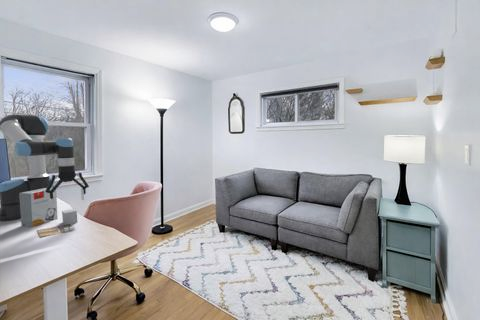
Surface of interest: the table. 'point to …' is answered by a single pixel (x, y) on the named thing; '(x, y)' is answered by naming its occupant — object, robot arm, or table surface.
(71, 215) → the block
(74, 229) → the spacer wedges
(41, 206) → the hard drive box
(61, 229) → the laminate strip
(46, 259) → the table surface
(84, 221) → the table surface
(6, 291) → the table surface
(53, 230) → the board
